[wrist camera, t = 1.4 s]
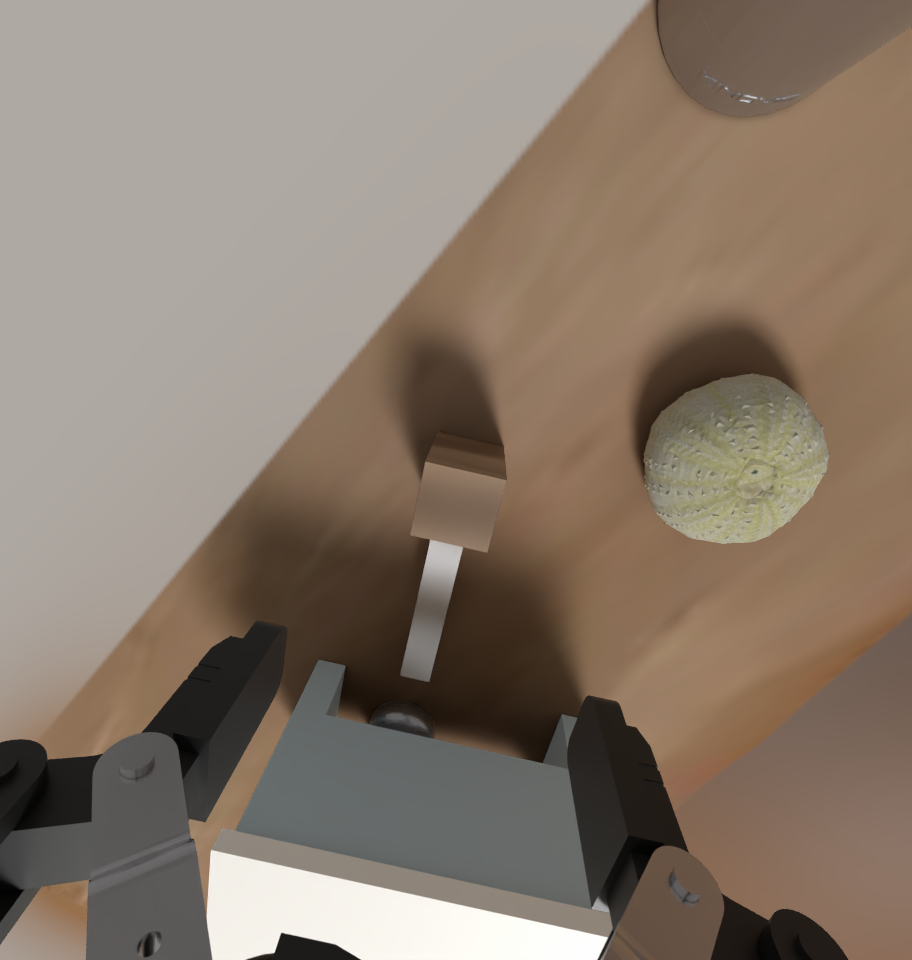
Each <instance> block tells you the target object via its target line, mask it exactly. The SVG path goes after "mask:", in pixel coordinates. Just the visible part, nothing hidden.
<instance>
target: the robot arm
mask: <svg viewBox="0 0 912 960" xmlns="http://www.w3.org/2000/svg"><path fill="white" fill-rule="evenodd" d="M658 23H659V35H660V40H661V44H662V48H663V52H664V56H665V59H666V61H667V63H668V65H669V67H670V69H671V71H672V73H673V76H674V78H675V79H676V80H677V82H678V83H679V84H680V85H681V87H682V88H683V89H684V90H685V92H686V93H687V94H688V95H689V96H690V97H691V98H693V99H694V100H696V101H697V102H698V103H700V104H701V105H702V106H704V107H705V108H707V109H710V110H713V111H715V112H718V113H721V114H723V115H728V116H738V117H752V116H759V115H766V114H770V113H773V112H775V111H778V110H781V109H783V108H786V107H789V106H791V105H793V104H794V103H796V102H797V101H799V100H801V99H802V98H804V97H806V96H807V95H809V94H811V93H812V92H814V91H815V90H817V89H818V88H820V87H821V86H823V85H824V84H826V83H827V82H829V81H830V80H832V79H833V78H835V77H836V76H838V75H839V74H841V73H842V72H844V71H845V70H847V69H848V68H850V67H851V66H853V65H854V64H856V63H857V62H859V61H861V60H863V59H864V58H866V57H867V56H869V55H870V54H872V53H873V52H875V51H876V50H878V49H879V48H881V47H882V46H884V45H885V44H887V43H888V42H890V41H891V40H893V39H894V38H896V37H897V36H899V35H900V34H902V33H903V32H905V31H906V30H908V29H909V28H911V27H912V0H658ZM286 638H287V628H286V627H285V626H281V625H276V624H272V623H267V622H263V621H256V622H255V623H254V625H253V626H252V627H251V629H250V630H249V631H248V633H247V634H246V635H245V637H244V638H243V639H241V638H237V637H232V636H230V637H228V638H226V639H225V640H223V641H222V642H220V643H218V644H217V645H215V646H213V647H212V648H211V649H210V650H209V651H208V653H207V654H206V655H205V656H204V657H203V659H202V660H201V661H200V662H199V664H198V666H197V667H195V668H194V670H193V671H192V672H191V673H190V675H189V676H188V678H187V680H185V681H184V682H183V683H182V684H181V686H180V687H179V688H178V689H177V690H176V692H175V693H174V694H173V695H172V697H171V698H170V699H169V700H168V701H167V703H166V704H165V705H164V706H163V708H162V709H161V710H160V711H159V712H158V714H157V715H156V716H155V717H154V719H153V720H152V721H151V722H150V723H149V725H148V726H147V727H146V728H145V729H144V730H143V732H142V733H140V734H135V735H132V736H129V737H127V738H125V739H122V740H120V741H119V742H117V743H115V744H114V745H113V746H111V747H110V748H109V749H108V750H107V751H105V752H104V753H103V754H100V755H95V756H88V757H75V758H63V759H50V760H47V753H46V750H45V749H44V747H43V746H42V745H41V744H39V743H37V742H35V741H31V740H22V739H20V740H10V741H4V742H1V743H0V944H1V943H2V941H3V940H4V939H5V937H6V936H7V934H8V933H9V931H10V930H11V929H12V927H13V926H14V925H15V923H16V922H17V920H18V919H19V918H20V916H21V914H22V913H23V912H24V910H25V909H26V908H27V906H28V905H29V903H30V902H31V901H32V899H33V898H34V897H35V895H36V894H37V892H38V891H39V889H40V888H41V887H42V886H49V885H56V884H62V883H69V882H76V881H82V880H89V879H90V880H89V883H88V901H87V942H86V943H87V944H86V960H212V953H211V946H210V940H209V933H208V926H207V919H206V912H205V905H204V898H203V892H202V885H201V878H200V871H199V864H198V857H197V851H196V846H195V842H194V839H191V836H190V830H189V823H188V821H189V819H193V820H197V821H202V822H206V820H207V818H208V816H209V815H210V813H211V811H212V809H213V807H214V806H215V804H216V802H217V800H218V798H219V797H220V795H221V793H222V791H223V789H224V788H225V786H226V784H227V782H228V780H229V779H230V777H231V775H232V773H233V771H234V770H235V768H236V766H237V764H238V762H239V760H240V759H241V757H242V755H243V753H244V751H245V750H246V748H247V746H248V744H249V742H250V741H251V739H252V737H253V735H254V733H255V732H256V730H257V728H258V726H259V724H260V723H261V721H262V719H263V717H264V715H265V713H266V712H267V710H268V708H269V706H270V704H271V703H272V701H273V699H274V697H275V695H276V693H277V690H278V688H279V685H280V681H281V677H282V672H283V664H284V655H285V647H286ZM567 764H568V770H569V776H570V782H571V788H572V794H573V800H574V806H575V812H576V818H577V824H578V830H579V836H580V842H581V848H582V854H583V860H584V866H585V872H586V878H587V884H588V890H589V896H590V902H591V908H592V909H594V910H599V911H603V912H608V913H610V917H611V922H612V927H613V929H612V931H611V932H610V934H609V936H608V938H607V940H606V942H605V944H604V947H603V949H602V951H601V953H600V955H599V957H598V959H597V960H848V958H847V957H846V955H845V954H844V952H843V951H842V949H841V948H840V947H839V945H838V944H837V943H836V942H835V940H833V938H832V937H831V936H830V935H829V934H828V933H827V932H826V931H825V930H824V929H823V928H822V927H820V926H819V925H818V924H817V923H815V922H814V921H813V920H811V919H810V918H808V917H806V916H805V915H803V914H801V913H799V912H796V911H794V910H789V909H781V910H778V911H776V912H775V913H774V914H773V915H772V917H771V918H770V920H767V919H765V918H763V917H761V916H760V915H757V914H756V913H754V912H752V911H751V910H749V909H747V908H745V907H743V906H742V905H740V904H738V903H736V902H734V901H733V900H731V899H729V898H728V897H726V896H725V895H723V894H722V893H721V891H720V889H719V887H718V884H717V882H716V881H715V879H714V878H713V876H712V875H711V873H710V872H709V871H708V869H707V868H706V867H705V866H704V865H703V864H702V863H701V862H700V861H699V860H698V859H697V858H695V857H694V856H693V855H691V854H690V853H689V852H688V850H687V846H686V844H685V841H684V838H683V836H682V833H681V830H680V827H679V824H678V822H677V819H676V816H675V813H674V811H673V808H672V805H671V802H670V799H669V797H668V794H667V791H666V788H665V787H663V780H662V777H661V775H660V772H659V771H658V770H657V767H658V766H657V764H656V761H655V758H654V755H653V753H652V750H651V747H650V745H649V744H648V743H647V741H646V740H645V739H644V737H643V736H642V735H641V733H640V732H639V731H638V729H637V728H636V727H631V726H627V725H626V722H625V719H624V716H623V713H622V710H621V707H620V705H619V703H618V702H616V701H612V700H608V699H603V698H599V697H594V696H587V697H586V699H585V700H584V703H583V705H582V708H581V710H580V713H579V715H578V718H577V720H576V723H575V725H574V728H573V731H572V733H571V736H570V738H569V743H568V749H567ZM246 960H361V959H359V958H357V957H356V956H354V955H352V954H351V953H349V952H347V951H346V950H344V949H342V948H341V947H339V946H338V945H336V944H331V943H327V942H322V941H318V940H313V939H309V938H304V937H299V936H295V935H290V934H286V933H281V935H280V938H279V941H278V944H277V947H276V950H275V953H270V954H263V955H259V956H256V957H252V958H249V959H246Z"/></svg>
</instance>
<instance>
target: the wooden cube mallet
mask: <svg viewBox="0 0 912 960" xmlns="http://www.w3.org/2000/svg"><path fill="white" fill-rule="evenodd" d="M506 482H507V476H506V465H505V455H504V446H500V445H495V444H491V443H487V442H482V441H478V440H474V439H469V438H465V437H461V436H456V435H452V434H448V433H443V432H439V431H438V432H437V435H436V437H435V440H434V442H433V444H432V447H431V449H430V452H429V454H428V456H427V459H426V461H425V465H424V470H423V475H422V480H421V485H420V490H419V494H418V499H417V504H416V509H415V514H414V519H413V523H412V528H411V533H410V535H412V536H416V537H420V538H425V539H429V540H430V544H429V549H428V553H427V557H426V562H425V566H424V571H423V575H422V580H421V584H420V589H419V593H418V598H417V602H416V607H415V611H414V615H413V620H412V624H411V629H410V633H409V638H408V642H407V647H406V651H405V656H404V660H403V665H402V669H401V673H400V676H404V677H408V678H413V679H417V680H422V681H426V682H429V681H430V677H431V673H432V669H433V665H434V661H435V657H436V653H437V649H438V645H439V641H440V637H441V633H442V629H443V625H444V621H445V617H446V613H447V609H448V605H449V601H450V597H451V593H452V589H453V585H454V581H455V577H456V573H457V569H458V566H459V562H460V558H461V554H462V550H463V547H464V548H469V549H473V550H478V551H482V552H486V553H487V552H488V548H489V544H490V541H491V537H492V533H493V530H494V526H495V522H496V519H497V515H498V511H499V508H500V504H501V500H502V497H503V493H504V489H505V486H506Z"/></svg>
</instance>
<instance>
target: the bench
mask: <svg viewBox="0 0 912 960" xmlns="http://www.w3.org/2000/svg"><path fill="white" fill-rule="evenodd" d="M345 667H346V666H345V665H341V664H336V663H332V662H328V661H323V660H318V662H317V664H316V666H315V668H314V670H313V672H312V674H311V676H310V678H309V680H308V682H307V685H306V687H305V689H304V691H303V693H302V695H301V697H300V699H299V701H298V703H297V705H296V707H295V709H294V711H293V713H292V715H291V717H290V719H289V721H288V723H287V726H286V728H285V730H284V732H283V734H282V736H281V738H280V740H279V742H278V744H277V746H276V748H275V750H274V752H273V754H272V756H271V758H270V760H269V762H268V765H267V767H266V769H265V771H264V773H263V775H262V777H261V779H260V781H259V783H258V785H257V787H256V789H255V791H254V793H253V795H252V797H251V799H250V801H249V804H248V806H247V808H246V810H245V812H244V814H243V816H242V818H241V820H240V822H239V824H238V826H237V828H236V830H235V831H234V830H229V829H225V828H222V830H221V832H220V834H219V835H218V837H217V839H216V841H215V843H214V845H213V847H212V849H211V858H210V874H209V889H208V905H207V926H208V933H209V940H210V946H211V953H212V960H246V959H249V958H252V957H256V956H259V955H263V954H270V953H275V950H276V947H277V944H278V941H279V938H280V935H281V933H286V934H290V935H295V936H299V937H304V938H309V939H313V940H318V941H322V942H327V943H331V944H336V945H338V946H339V947H341V948H342V949H344V950H346V951H347V952H349V953H351V954H352V955H354V956H356V957H357V958H359V959H361V960H597V959H598V957H599V955H600V953H601V951H602V949H603V947H604V944H605V942H606V940H607V938H608V936H609V934H610V932H611V931H612V929H613V927H612V922H611V917H610V913H608V912H603V911H599V910H594V909H592V908H591V902H590V896H589V890H588V884H587V878H586V872H585V866H584V860H583V854H582V848H581V842H580V836H579V830H578V824H577V818H576V812H575V806H574V800H573V794H572V788H571V782H570V776H569V770H568V764H567V749H568V743H569V738H570V736H571V733H572V731H573V728H574V725H575V723H576V720H577V718H576V717H572V716H568V715H563V714H561V717H560V719H559V722H558V725H557V727H556V730H555V733H554V735H553V738H552V740H551V743H550V746H549V748H548V751H547V753H546V756H545V759H544V761H543V763H539V762H535V761H530V760H526V759H521V758H517V757H512V756H508V755H503V754H499V753H494V752H490V751H485V750H481V749H476V748H472V747H468V746H463V745H459V744H454V743H450V742H445V741H441V740H436V739H432V738H427V737H423V736H418V735H414V734H409V733H405V732H401V731H396V730H392V729H387V728H383V727H378V726H374V725H369V724H365V723H360V722H356V721H351V720H347V719H342V718H338V717H337V713H338V708H339V702H340V696H341V690H342V685H343V679H344V673H345Z"/></svg>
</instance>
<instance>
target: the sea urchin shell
mask: <svg viewBox="0 0 912 960" xmlns="http://www.w3.org/2000/svg"><path fill="white" fill-rule="evenodd" d="M643 454H644V460H643V461H644V463H645V475H644V479H645V484H644V486H645V487H647V492H648V494H649V496H650V500H651V503H652V506H653V509H654V510H655V512H656V513H657V515H658V516H659V517H660V518H661V519H662V520H663V521H664V522H665V524H667V525H669V526H671V527H672V528H674V529H676V530H678V531H680V532H681V533H683V534H685V535H686V536H687V537H690V538H692V539H696V540H706V541H710V542H717V543H722V544H725V543H746V542H755V541H757V540H759V539H762V538H764V537H769V536H770V535H771V534H772V533H773V532H774V531H775V530H777V529H778V528H779V527H782V526H783V525H784V524H785V523H786V522H789V521H791V520H792V517H793V516H794V515H795V514H796V513H797V512H798V511H799V509H800V508H801V507H802V506H803V505H804V504H805V503H806V502H808V500H809V498H811V497H813V496H814V491H815V489H816V487H817V485H818V484H819V482H820V480H821V479H822V477H823V475H825V472H826V471H827V462H828V458H829V455H830V454H829V452H828V449H827V443H826V440H825V438H824V434H823V426H822V425H821V424H820V421H818V420H817V419H816V417H815V416H814V414H813V413H812V411H811V410H810V408H809V406H808V404H807V402H805V400H804V398H803V397H801V396H800V395H799V394H797V392H795V391H793V390H792V389H791V388H789V387H788V386H787V385H786V384H784V383H783V382H781V380H780V379H775V378H774V377H768V376H763V375H759V374H756V375H755V374H754V373H751V374H746V375H740V376H736V377H728V378H720V380H716V381H713V382H711V383H709V384H707V385H705V386H702V387H700V388H696V389H692V390H691V391H690V392H685V393H684V395H683V396H681V397H679V398H678V400H676V401H675V402H674V403H672V404H671V405H670V406H668V407H667V408H666V409H665V410H663V411H660V415H659V416H658V418H657V419H656V421H655V422H654V424H653V425H652V426H651V431H650V435H649V439H648V441H647V444H646V448H645V452H644V453H643Z"/></svg>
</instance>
